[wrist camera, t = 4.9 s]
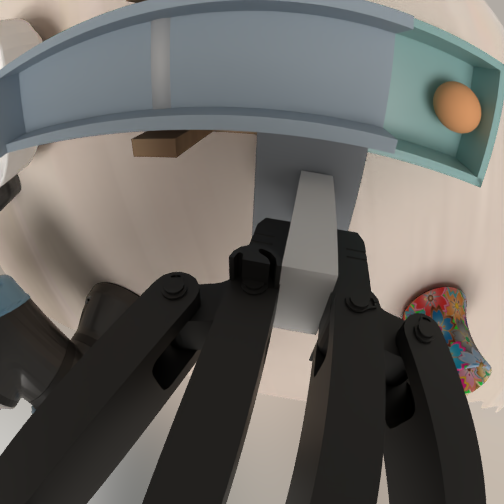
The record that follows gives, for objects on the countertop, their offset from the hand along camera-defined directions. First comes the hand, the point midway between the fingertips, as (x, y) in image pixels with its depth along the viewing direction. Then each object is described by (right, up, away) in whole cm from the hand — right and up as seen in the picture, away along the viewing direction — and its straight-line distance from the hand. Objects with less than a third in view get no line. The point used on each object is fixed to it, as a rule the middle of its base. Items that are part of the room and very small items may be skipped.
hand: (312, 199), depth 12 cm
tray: (+8, +9, +1) cm, 12 cm away
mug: (+17, -10, +14) cm, 24 cm away
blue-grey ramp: (-8, +4, 0) cm, 9 cm away
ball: (+10, +7, -1) cm, 12 cm away
